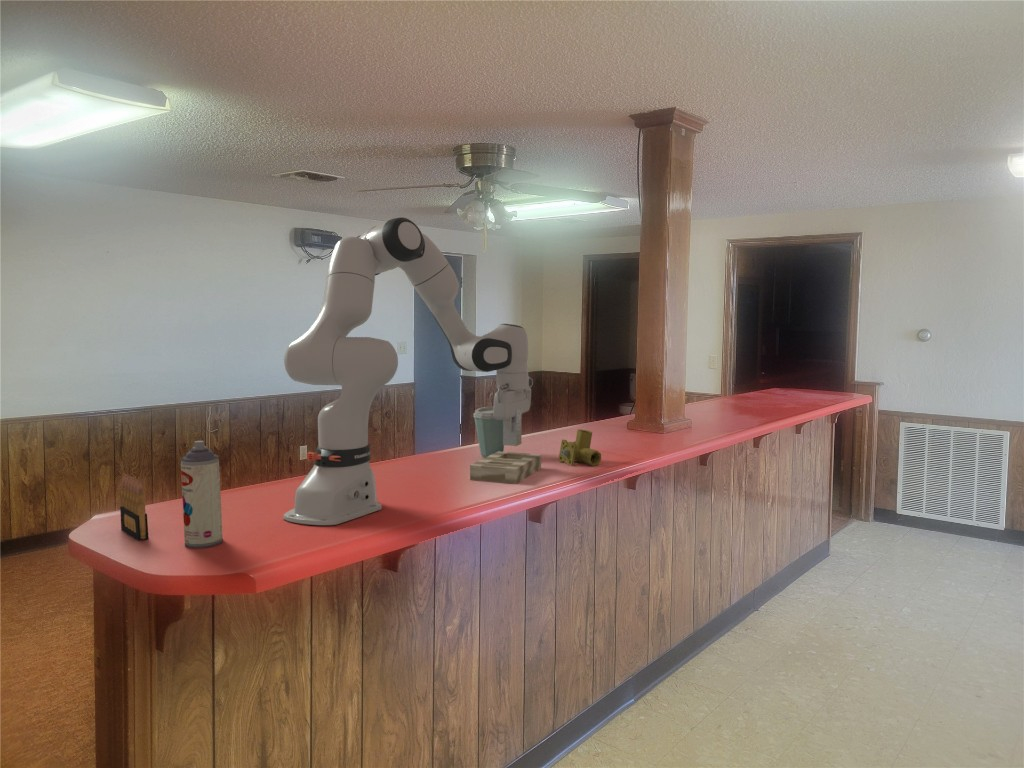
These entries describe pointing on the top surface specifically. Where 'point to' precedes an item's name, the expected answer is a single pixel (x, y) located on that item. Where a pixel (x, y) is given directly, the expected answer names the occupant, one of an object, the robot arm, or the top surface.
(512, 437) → the square bit
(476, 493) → the top surface
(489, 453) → the disposable coffee cup
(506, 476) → the tan flat slatted block
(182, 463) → the aerosol can
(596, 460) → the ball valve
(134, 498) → the ammunition clip
